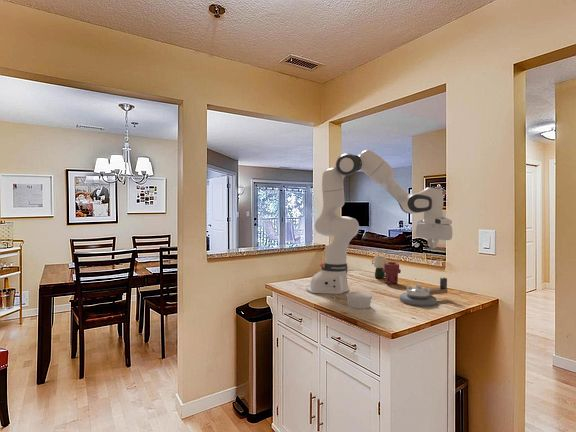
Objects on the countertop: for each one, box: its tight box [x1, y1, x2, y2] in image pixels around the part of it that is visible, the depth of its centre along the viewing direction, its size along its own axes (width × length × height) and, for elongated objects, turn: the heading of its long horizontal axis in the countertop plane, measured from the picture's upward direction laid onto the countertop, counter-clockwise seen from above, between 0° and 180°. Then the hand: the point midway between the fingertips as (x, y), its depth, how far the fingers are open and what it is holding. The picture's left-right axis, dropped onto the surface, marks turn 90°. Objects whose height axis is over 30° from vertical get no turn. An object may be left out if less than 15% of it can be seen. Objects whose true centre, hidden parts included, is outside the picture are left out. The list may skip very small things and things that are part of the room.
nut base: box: [399, 292, 438, 307], centre depth 158 cm, size 16×16×2 cm
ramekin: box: [345, 291, 373, 310], centre depth 149 cm, size 11×11×5 cm
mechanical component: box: [383, 261, 402, 285], centre depth 195 cm, size 12×10×10 cm
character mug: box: [371, 255, 390, 279], centre depth 209 cm, size 11×7×13 cm, turn 55°
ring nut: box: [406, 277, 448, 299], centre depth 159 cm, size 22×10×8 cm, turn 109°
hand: (432, 247), depth 168 cm, fingers closed
